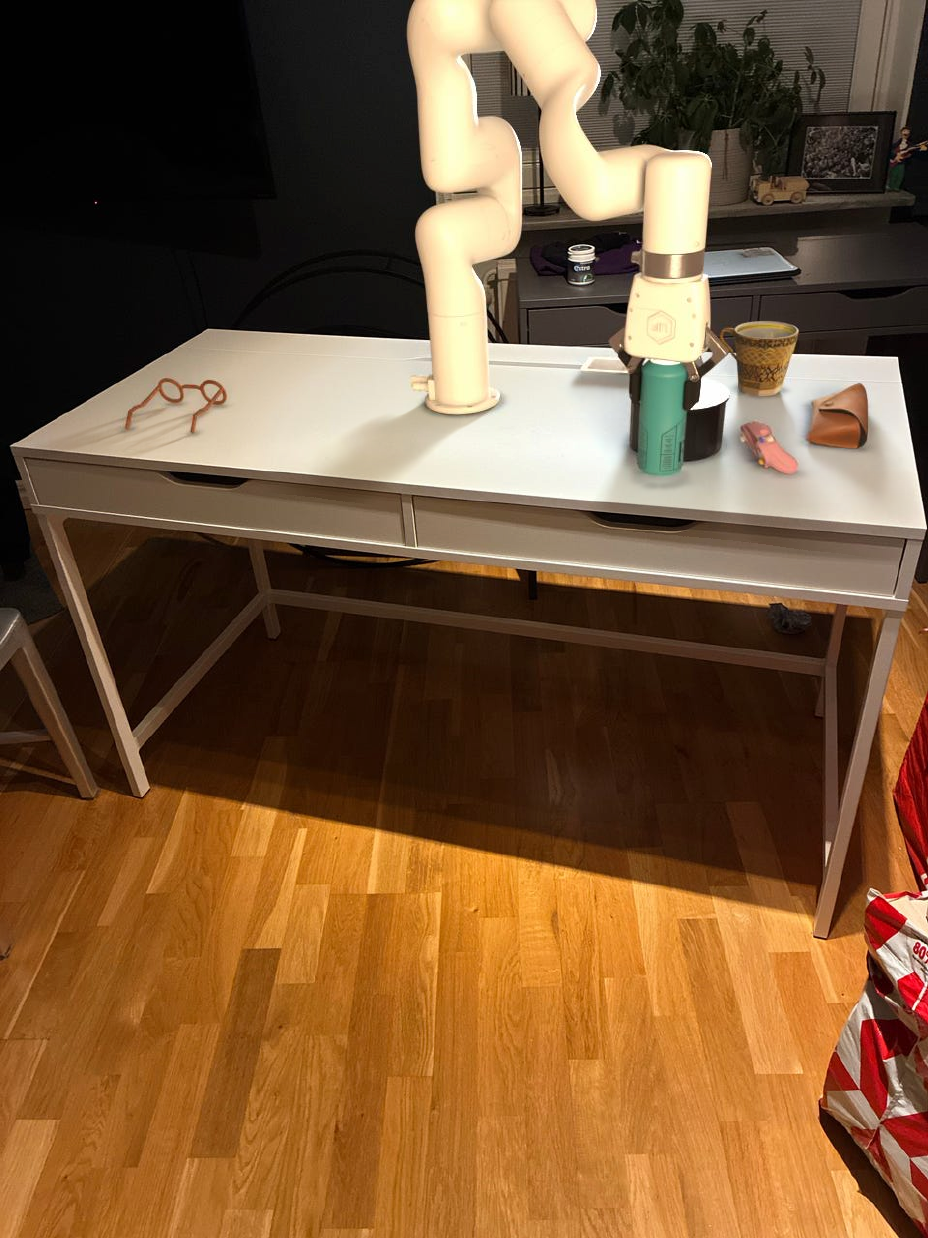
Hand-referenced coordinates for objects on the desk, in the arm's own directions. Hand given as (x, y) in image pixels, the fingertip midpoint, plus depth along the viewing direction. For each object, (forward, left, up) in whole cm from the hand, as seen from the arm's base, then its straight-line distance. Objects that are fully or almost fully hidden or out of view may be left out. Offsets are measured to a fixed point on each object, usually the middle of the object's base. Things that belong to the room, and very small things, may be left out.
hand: (663, 402), depth 125 cm
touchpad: (-11, +44, -11) cm, 47 cm away
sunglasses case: (+24, +23, -11) cm, 35 cm away
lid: (+1, +12, -3) cm, 12 cm away
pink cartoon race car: (+14, +7, -11) cm, 19 cm away
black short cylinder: (+1, +12, -11) cm, 16 cm away
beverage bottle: (0, 0, -11) cm, 11 cm away
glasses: (-83, +11, -11) cm, 84 cm away
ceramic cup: (+11, +38, -11) cm, 41 cm away
